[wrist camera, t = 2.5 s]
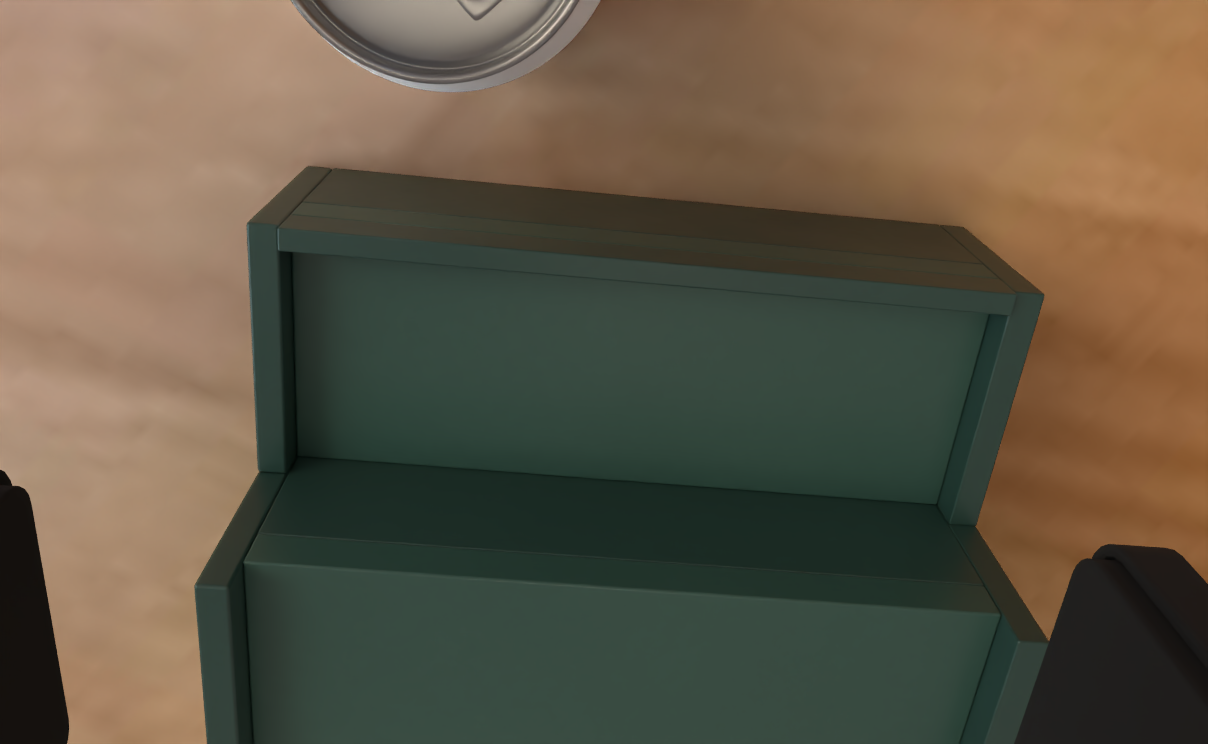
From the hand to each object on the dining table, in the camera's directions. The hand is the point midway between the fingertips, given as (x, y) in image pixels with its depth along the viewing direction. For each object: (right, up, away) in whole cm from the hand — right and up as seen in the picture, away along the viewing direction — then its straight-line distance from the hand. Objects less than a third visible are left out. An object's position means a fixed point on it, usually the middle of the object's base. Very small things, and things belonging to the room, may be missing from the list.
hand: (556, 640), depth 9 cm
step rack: (+1, 0, +25) cm, 25 cm away
